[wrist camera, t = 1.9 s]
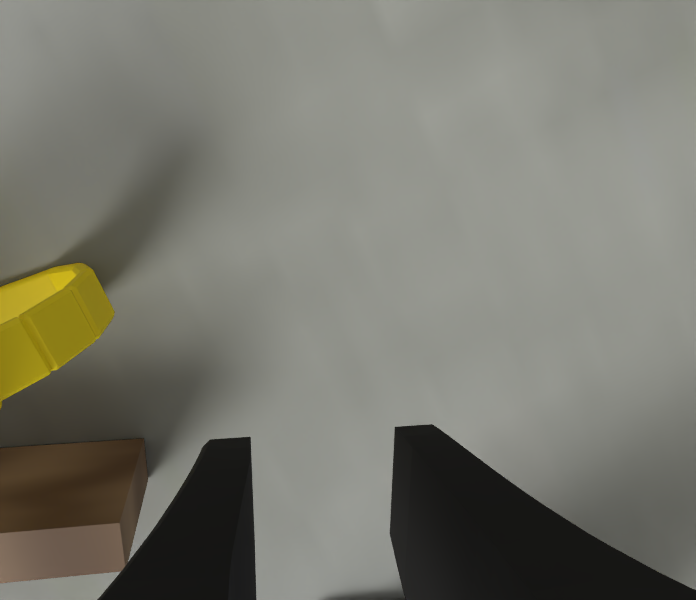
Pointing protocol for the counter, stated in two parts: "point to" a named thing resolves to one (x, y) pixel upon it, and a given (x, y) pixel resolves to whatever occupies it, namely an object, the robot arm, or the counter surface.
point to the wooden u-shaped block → (69, 508)
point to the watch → (48, 323)
